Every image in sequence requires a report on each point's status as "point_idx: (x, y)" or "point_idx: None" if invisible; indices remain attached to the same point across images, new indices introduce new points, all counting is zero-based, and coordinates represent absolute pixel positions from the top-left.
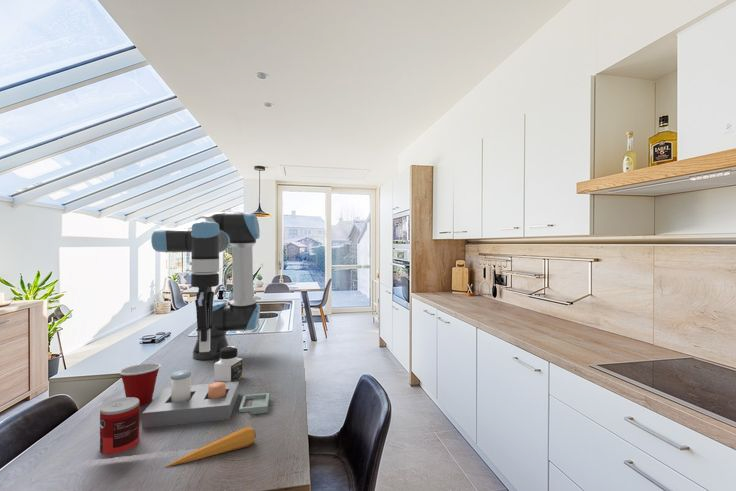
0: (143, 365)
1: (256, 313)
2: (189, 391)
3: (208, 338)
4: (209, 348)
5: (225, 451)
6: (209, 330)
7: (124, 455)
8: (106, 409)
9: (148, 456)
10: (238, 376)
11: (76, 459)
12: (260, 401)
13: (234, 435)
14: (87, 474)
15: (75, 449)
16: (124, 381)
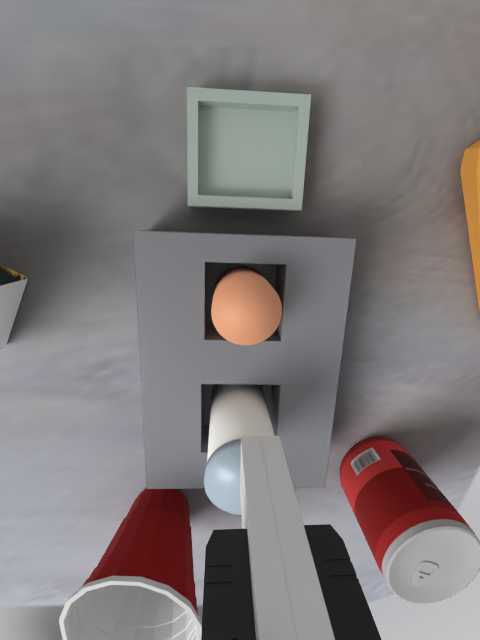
0: (72, 633)
1: None
2: (248, 403)
3: (304, 532)
4: (268, 449)
5: None
6: (319, 630)
7: (404, 447)
8: (446, 583)
9: (428, 399)
10: None
11: None
12: (227, 133)
13: None
14: (446, 482)
15: (345, 540)
16: (183, 620)
